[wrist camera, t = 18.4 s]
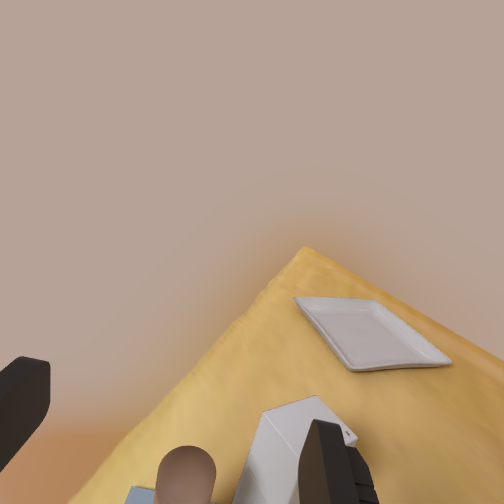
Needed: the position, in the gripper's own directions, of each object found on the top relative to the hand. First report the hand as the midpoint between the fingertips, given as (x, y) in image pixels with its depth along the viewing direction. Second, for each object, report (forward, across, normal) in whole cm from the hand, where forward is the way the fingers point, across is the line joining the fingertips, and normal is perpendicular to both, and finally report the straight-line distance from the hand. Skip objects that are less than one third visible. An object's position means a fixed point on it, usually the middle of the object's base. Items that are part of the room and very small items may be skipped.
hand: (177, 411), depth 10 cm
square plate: (+61, -32, +31) cm, 75 cm away
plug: (+11, 0, +29) cm, 31 cm away
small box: (+17, -10, +30) cm, 36 cm away
